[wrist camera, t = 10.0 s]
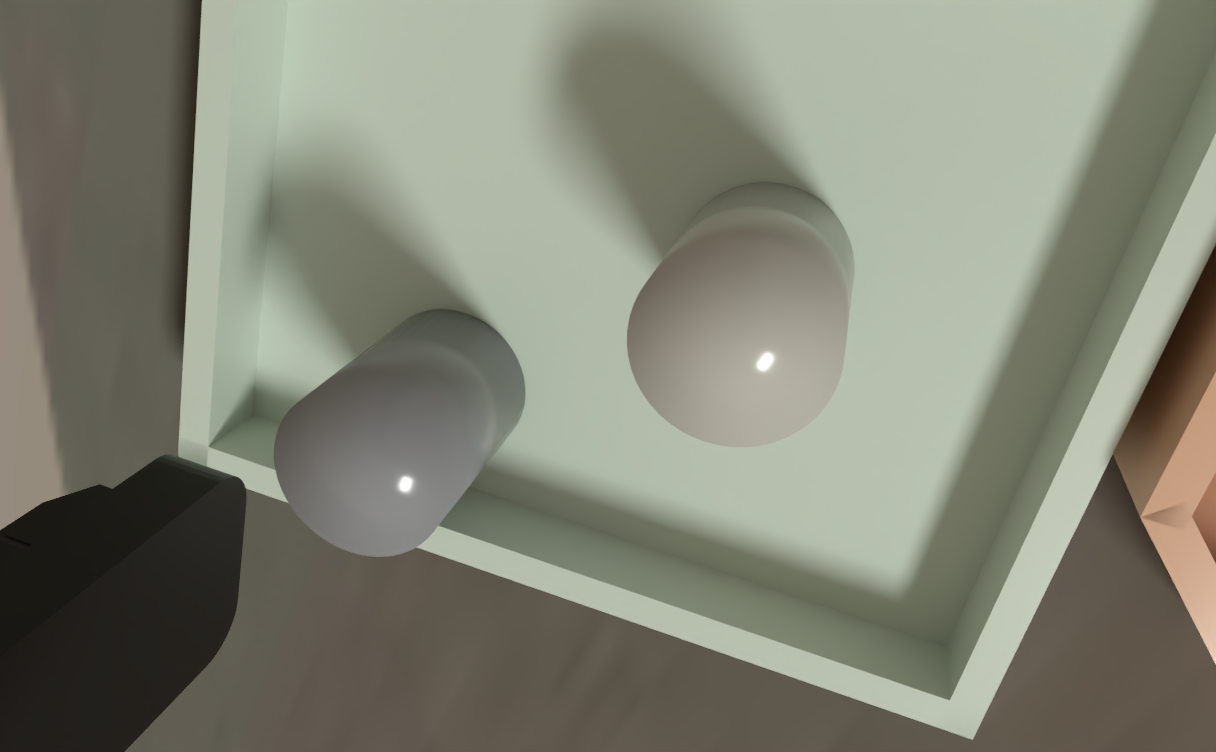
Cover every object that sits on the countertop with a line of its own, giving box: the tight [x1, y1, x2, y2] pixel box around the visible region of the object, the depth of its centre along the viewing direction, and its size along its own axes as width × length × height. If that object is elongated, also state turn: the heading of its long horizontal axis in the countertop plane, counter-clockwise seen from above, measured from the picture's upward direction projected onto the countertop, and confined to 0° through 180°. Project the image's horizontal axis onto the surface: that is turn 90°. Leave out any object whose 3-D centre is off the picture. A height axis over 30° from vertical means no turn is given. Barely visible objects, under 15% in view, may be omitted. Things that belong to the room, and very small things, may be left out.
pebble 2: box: [627, 182, 855, 447], centre depth 21 cm, size 4×4×5 cm
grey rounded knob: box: [274, 309, 525, 557], centre depth 24 cm, size 4×4×5 cm
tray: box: [178, 0, 1216, 740], centre depth 22 cm, size 18×20×3 cm
